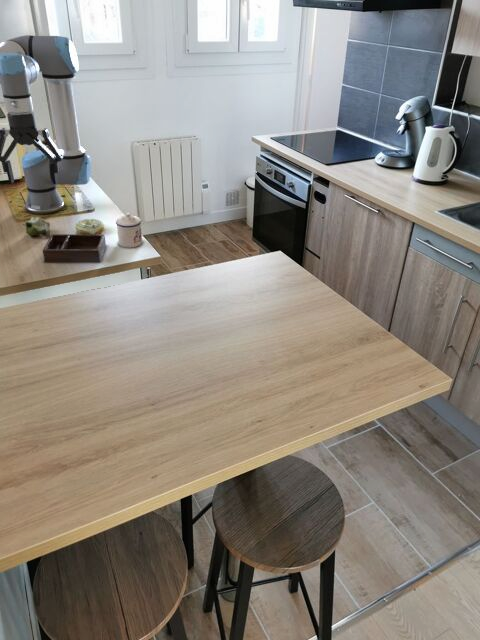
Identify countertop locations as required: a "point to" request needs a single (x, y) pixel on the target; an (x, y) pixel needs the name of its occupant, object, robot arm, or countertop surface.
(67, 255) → the caddy
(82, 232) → the decorated donut
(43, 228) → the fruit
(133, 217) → the teacup with lid
